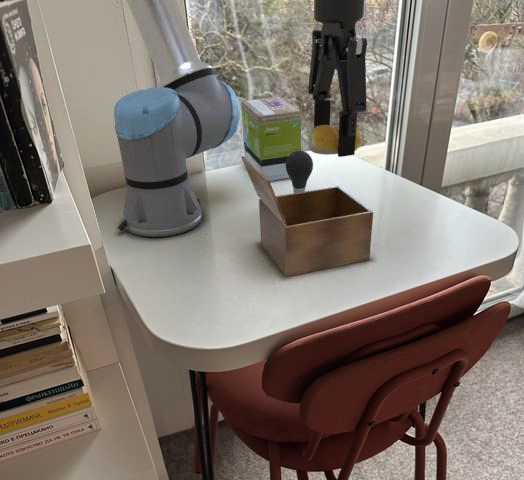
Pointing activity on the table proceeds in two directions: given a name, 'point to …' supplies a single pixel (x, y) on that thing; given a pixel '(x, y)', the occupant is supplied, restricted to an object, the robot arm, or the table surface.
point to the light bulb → (299, 169)
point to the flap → (263, 189)
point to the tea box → (270, 134)
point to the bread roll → (328, 140)
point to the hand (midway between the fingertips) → (333, 147)
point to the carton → (316, 230)
